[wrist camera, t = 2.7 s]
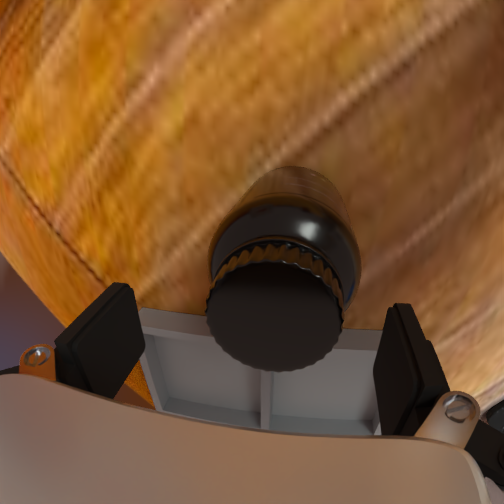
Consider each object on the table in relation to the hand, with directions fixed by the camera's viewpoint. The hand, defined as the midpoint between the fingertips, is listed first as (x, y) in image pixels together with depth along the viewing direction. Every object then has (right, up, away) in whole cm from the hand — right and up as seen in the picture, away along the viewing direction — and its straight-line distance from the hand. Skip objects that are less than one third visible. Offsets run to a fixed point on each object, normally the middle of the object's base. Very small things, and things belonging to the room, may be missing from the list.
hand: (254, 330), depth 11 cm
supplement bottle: (+3, +5, +10) cm, 12 cm away
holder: (+2, -8, +17) cm, 19 cm away
